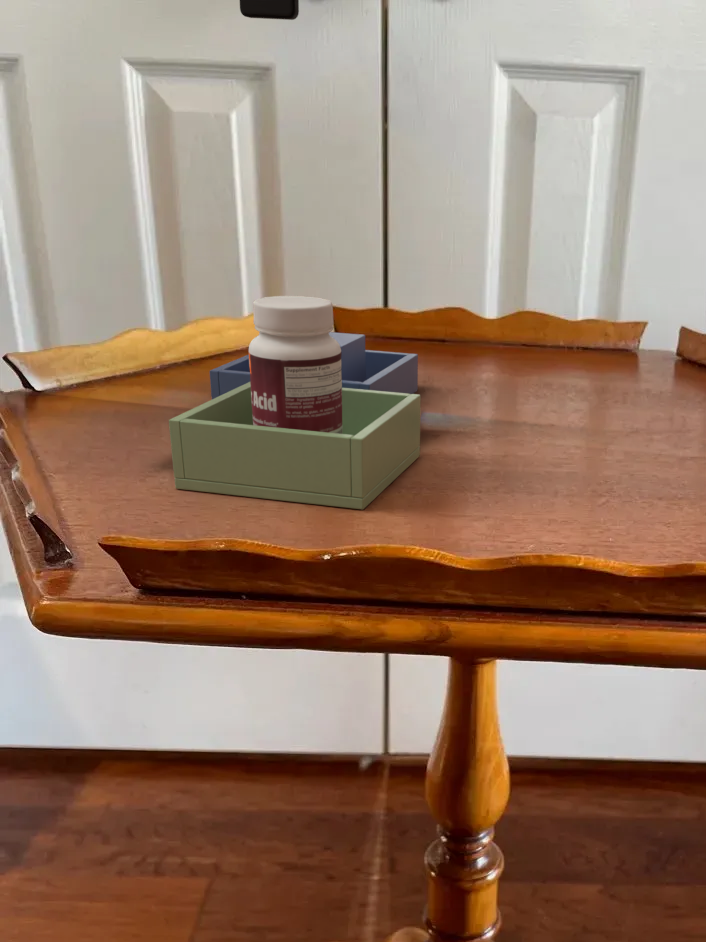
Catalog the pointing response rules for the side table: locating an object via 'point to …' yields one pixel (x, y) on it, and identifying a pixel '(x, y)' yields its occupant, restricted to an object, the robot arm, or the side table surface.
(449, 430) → the side table surface
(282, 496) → the bin green
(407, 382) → the bin blue
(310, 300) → the pill bottle
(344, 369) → the block
